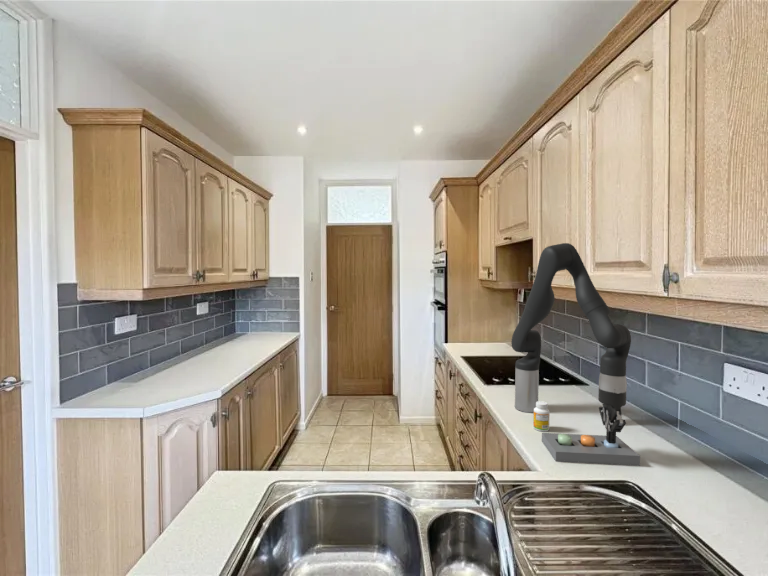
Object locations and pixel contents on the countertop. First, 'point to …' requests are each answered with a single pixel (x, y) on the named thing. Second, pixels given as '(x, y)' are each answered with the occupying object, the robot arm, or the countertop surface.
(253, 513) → the countertop surface
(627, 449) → the button box
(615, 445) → the blue button
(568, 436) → the green button
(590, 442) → the orange button
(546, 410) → the supplement bottle
